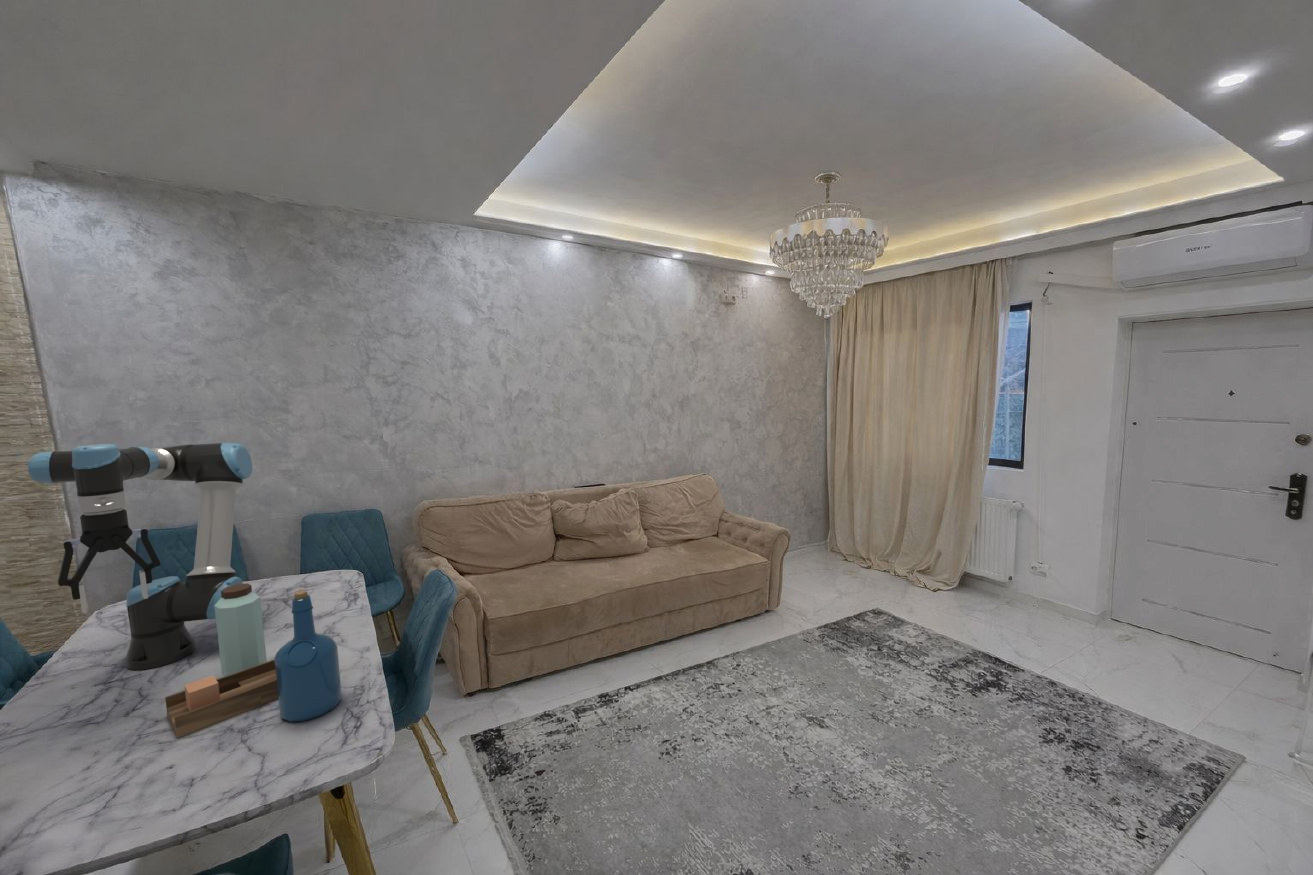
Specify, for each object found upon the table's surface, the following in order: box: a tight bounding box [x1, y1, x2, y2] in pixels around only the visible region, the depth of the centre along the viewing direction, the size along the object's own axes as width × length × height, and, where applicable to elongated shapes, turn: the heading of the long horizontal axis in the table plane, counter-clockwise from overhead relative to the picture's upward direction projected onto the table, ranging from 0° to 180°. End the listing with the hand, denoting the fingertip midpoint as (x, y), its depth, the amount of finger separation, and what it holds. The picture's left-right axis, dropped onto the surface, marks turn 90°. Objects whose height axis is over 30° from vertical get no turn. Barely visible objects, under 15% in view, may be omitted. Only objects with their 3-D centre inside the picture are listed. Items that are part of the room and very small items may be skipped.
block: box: [183, 675, 220, 711], centre depth 130 cm, size 6×6×6 cm
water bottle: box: [214, 583, 268, 677], centre depth 147 cm, size 10×10×25 cm
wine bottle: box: [273, 590, 342, 723], centre depth 131 cm, size 14×13×30 cm
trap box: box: [164, 659, 278, 739], centre depth 137 cm, size 13×30×6 cm, turn 140°
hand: (115, 604), depth 125 cm, fingers open, 9 cm apart
